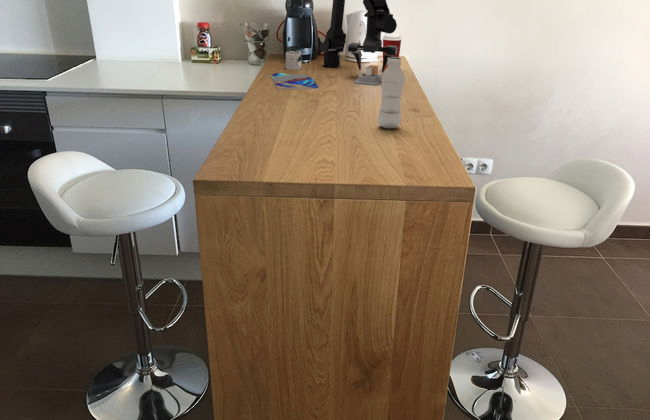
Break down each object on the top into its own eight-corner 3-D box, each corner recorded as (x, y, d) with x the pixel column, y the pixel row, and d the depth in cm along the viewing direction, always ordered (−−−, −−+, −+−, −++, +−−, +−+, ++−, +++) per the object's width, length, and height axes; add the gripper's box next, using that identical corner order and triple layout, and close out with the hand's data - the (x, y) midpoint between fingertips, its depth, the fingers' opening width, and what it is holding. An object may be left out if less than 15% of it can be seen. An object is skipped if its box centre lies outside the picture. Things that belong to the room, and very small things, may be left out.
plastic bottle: (375, 124, 170) (380, 55, 162) (398, 124, 171) (403, 56, 163) (379, 131, 165) (384, 60, 156) (402, 131, 165) (408, 60, 157)
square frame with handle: (365, 74, 234) (366, 64, 233) (381, 75, 233) (382, 65, 231) (358, 81, 222) (358, 70, 220) (374, 82, 220) (375, 72, 218)
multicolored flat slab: (270, 76, 231) (270, 71, 230) (307, 76, 234) (307, 71, 233) (277, 91, 208) (277, 85, 207) (318, 90, 211) (318, 85, 210)
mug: (301, 70, 241) (301, 54, 238) (285, 70, 241) (285, 53, 238) (302, 66, 250) (302, 50, 247) (286, 65, 250) (286, 49, 247)
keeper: (353, 83, 221) (354, 68, 218) (363, 74, 236) (364, 60, 234) (376, 85, 219) (377, 70, 216) (385, 76, 234) (386, 62, 232)
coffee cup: (399, 70, 246) (402, 34, 240) (399, 74, 239) (402, 37, 233) (379, 69, 247) (382, 33, 241) (379, 73, 240) (381, 36, 233)
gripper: (345, 31, 216) (343, 72, 223) (394, 34, 212) (391, 77, 218) (352, 27, 226) (350, 67, 232) (399, 30, 221) (395, 71, 228)
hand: (371, 71), depth 227 cm, fingers open, 9 cm apart
